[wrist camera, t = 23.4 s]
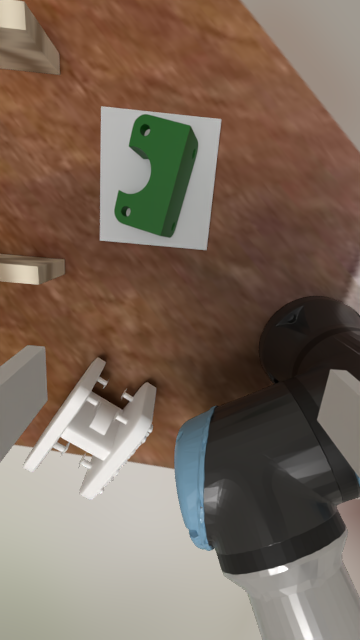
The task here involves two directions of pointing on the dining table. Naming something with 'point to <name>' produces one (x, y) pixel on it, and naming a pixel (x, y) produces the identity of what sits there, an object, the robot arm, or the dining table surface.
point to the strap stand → (34, 56)
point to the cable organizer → (97, 429)
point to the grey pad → (134, 173)
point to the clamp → (159, 175)
